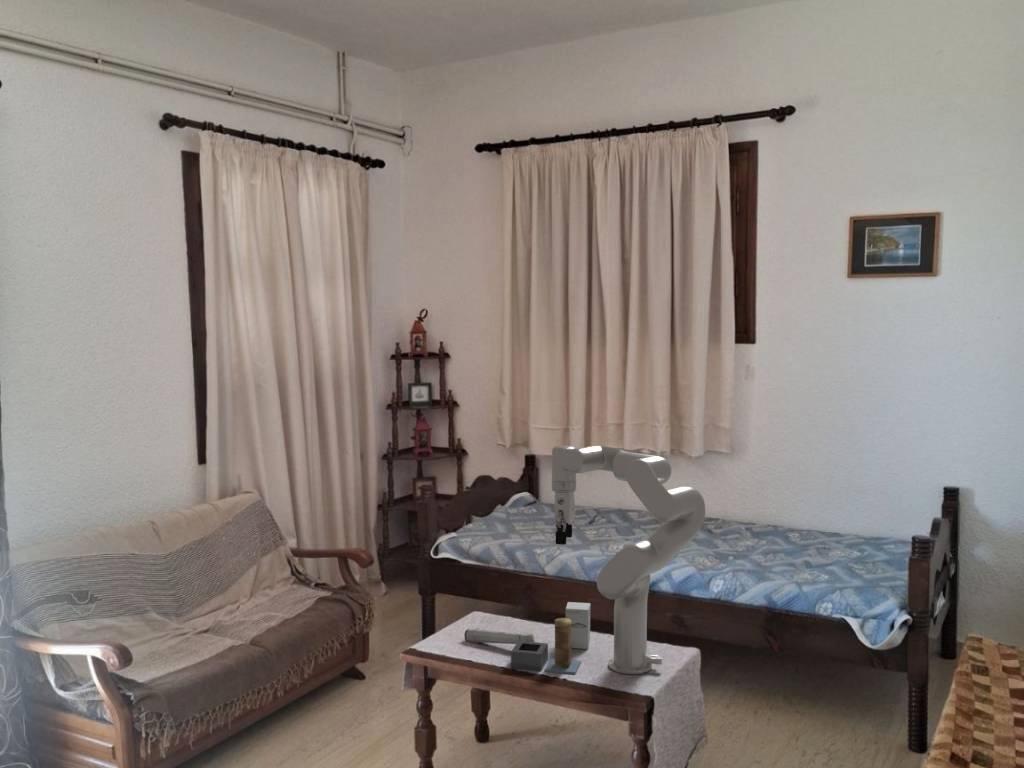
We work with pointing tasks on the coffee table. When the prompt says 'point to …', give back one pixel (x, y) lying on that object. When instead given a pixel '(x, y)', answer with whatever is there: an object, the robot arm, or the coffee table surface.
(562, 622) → the key peg
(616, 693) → the coffee table surface
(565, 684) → the coffee table surface
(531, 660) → the block
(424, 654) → the coffee table surface
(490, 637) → the grey wand device
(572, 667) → the rubber mat
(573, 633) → the supplement box
